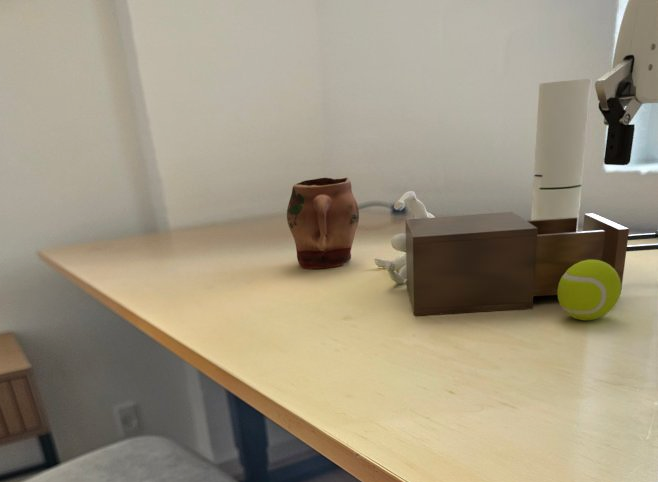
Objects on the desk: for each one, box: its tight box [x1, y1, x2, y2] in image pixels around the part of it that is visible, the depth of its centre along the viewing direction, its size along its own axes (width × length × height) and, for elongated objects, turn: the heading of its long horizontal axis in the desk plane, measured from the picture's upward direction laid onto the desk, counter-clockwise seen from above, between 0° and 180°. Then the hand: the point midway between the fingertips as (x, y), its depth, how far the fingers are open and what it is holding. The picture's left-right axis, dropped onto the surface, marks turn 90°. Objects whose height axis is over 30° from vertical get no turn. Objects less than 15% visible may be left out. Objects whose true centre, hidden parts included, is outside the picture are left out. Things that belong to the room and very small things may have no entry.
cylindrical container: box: [530, 78, 593, 232], centre depth 101 cm, size 7×7×25 cm
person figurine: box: [373, 190, 435, 285], centre depth 101 cm, size 13×13×18 cm
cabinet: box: [405, 211, 538, 317], centre depth 86 cm, size 15×15×10 cm
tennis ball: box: [557, 260, 622, 321], centre depth 74 cm, size 7×7×7 cm
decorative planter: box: [286, 177, 360, 270], centre depth 112 cm, size 20×12×14 cm, turn 5°
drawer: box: [526, 212, 658, 297], centre depth 85 cm, size 22×13×8 cm, turn 87°
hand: (649, 160), depth 75 cm, fingers open, 9 cm apart
